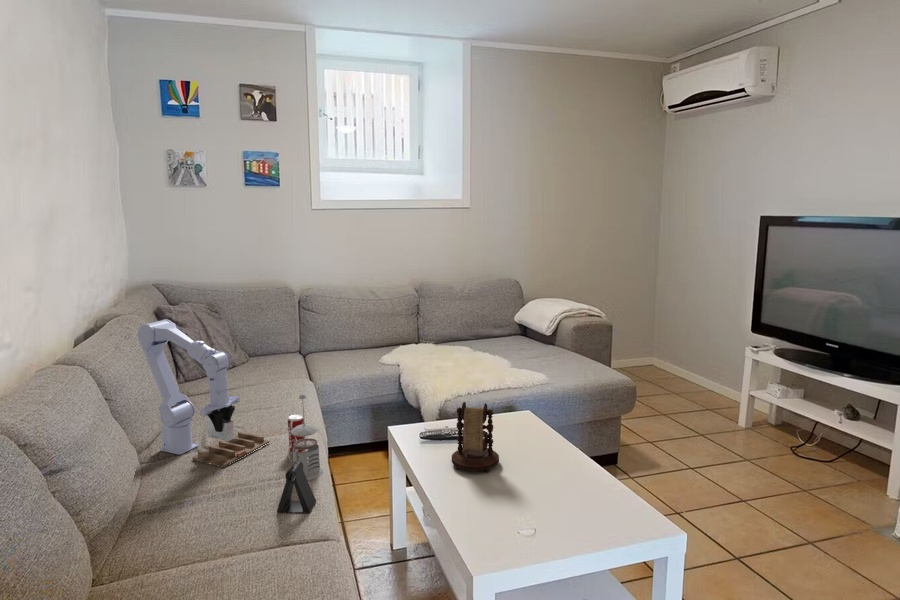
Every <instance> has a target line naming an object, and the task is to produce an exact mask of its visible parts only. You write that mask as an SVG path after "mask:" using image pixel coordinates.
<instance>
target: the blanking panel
mask: <svg viewBox="0 0 900 600" xmlns="http://www.w3.org/2000/svg"><path fill="white" fill-rule="evenodd" d="M206 424H207V435H208V436H207V437H208V438H212V439H218V440H220V441H230V440H232V439H234V437H235V430H234V420H227V419H222V432H216V431H215V428H214V425H213V423H212V421H211V420H210V418H209V417H208V418H207V419H206Z"/></svg>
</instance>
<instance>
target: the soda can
mask: <svg viewBox="0 0 900 600" xmlns="http://www.w3.org/2000/svg"><path fill="white" fill-rule="evenodd" d="M302 424H305V418H304V419H303V414H293V415H290V416H288V420H287V431H288V446H290V449H289V453H291V454H292V453H293V447H294V446H293V443H294V440H295V442H296V441H297V440H301V439H305V438H306V436H303V437H298V436H294V435H292V434H291V430H292V429H294V428H295V427H297V426H299V425H302ZM293 439H294V440H293ZM292 440H293V441H292ZM291 441H292V443H291ZM290 443H291V445H290ZM294 452H306V450H294Z"/></svg>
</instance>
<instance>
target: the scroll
mask: <svg viewBox="0 0 900 600" xmlns="http://www.w3.org/2000/svg"><path fill="white" fill-rule="evenodd" d="M456 415H457V422H456V428H457V430H458V431H457V438H456V441H457V445H458V446H457V450H455V451H454V452H453V453H452V454H451V463H452V465H454V466H455V470H459V469H462V470H466V471H486V473H489V472H490V469H492V468H495V467H496V466H497V465H499V463H500V455H499V453H497V452H496V450H495V451H494V450H493V449H494V448H493V444H494V439H493V433H492V432H493V431H494V424H493V422H494V421H493V417H494V416H493V415H494V411H493V409H488V404H487V403H486V402H485V403H484V405H483V407H470V406H467V403H466V401H463V402H462V404H461V407H458V408H457V409H456ZM487 418H488V419H487ZM486 422H487V424H486V425H485V423H486ZM462 430H463V431H462ZM484 430H487V431H485V433H484Z"/></svg>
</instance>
